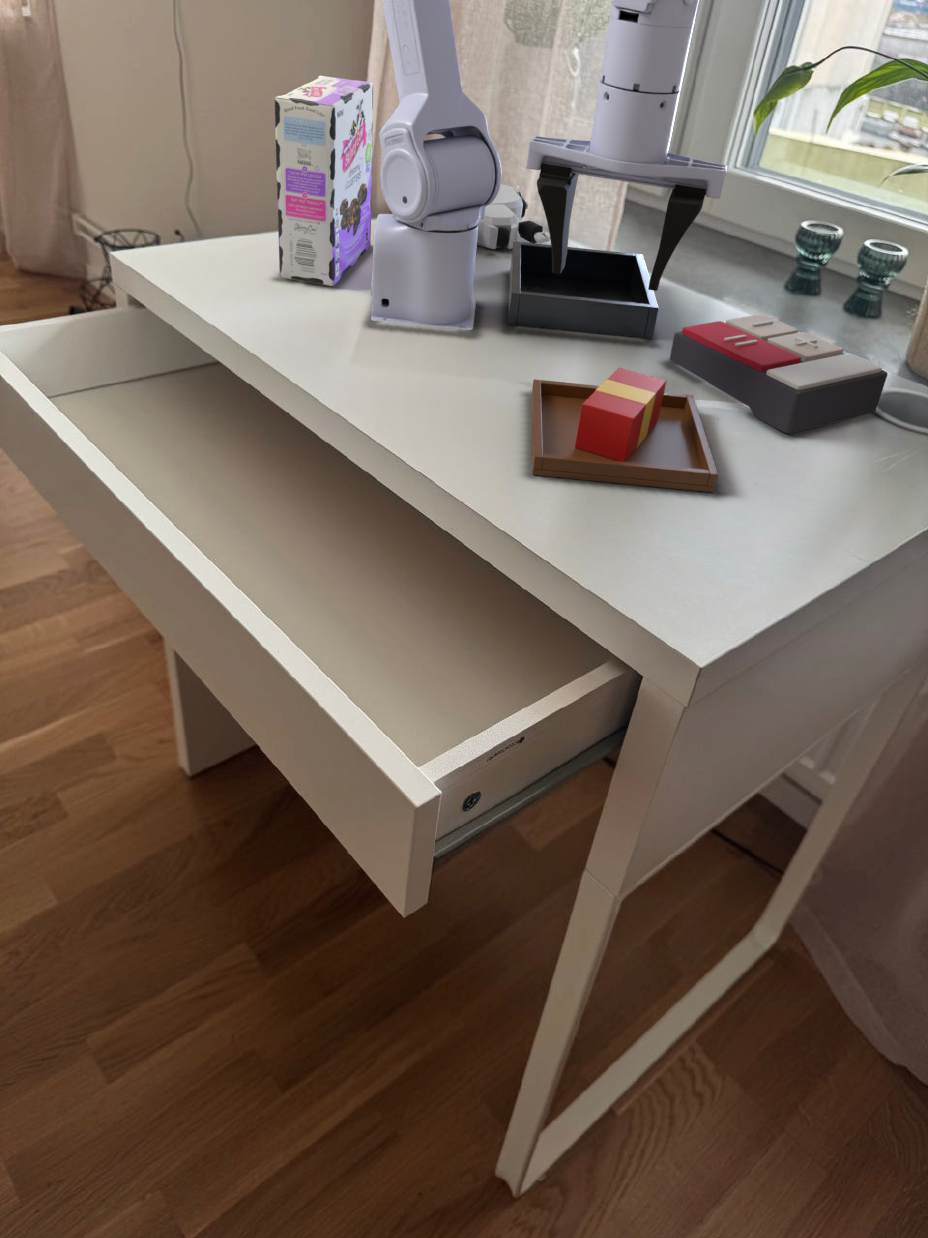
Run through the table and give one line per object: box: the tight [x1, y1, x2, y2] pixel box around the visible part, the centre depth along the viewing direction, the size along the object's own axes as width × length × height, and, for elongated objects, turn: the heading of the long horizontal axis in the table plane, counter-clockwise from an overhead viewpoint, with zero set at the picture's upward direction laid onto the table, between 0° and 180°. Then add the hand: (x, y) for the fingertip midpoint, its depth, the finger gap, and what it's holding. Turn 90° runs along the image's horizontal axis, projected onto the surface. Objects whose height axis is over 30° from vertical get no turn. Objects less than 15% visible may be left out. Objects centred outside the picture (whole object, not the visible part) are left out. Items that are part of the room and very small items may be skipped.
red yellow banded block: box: [575, 367, 668, 462], centre depth 73 cm, size 4×8×4 cm, turn 153°
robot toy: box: [477, 183, 551, 250], centre depth 111 cm, size 12×4×15 cm
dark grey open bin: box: [507, 241, 660, 341], centre depth 96 cm, size 14×16×4 cm
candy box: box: [274, 75, 374, 287], centre depth 96 cm, size 14×6×16 cm, turn 168°
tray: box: [530, 379, 719, 493], centre depth 74 cm, size 13×13×2 cm
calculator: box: [669, 313, 888, 434], centre depth 84 cm, size 11×4×15 cm
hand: (605, 277), depth 76 cm, fingers open, 7 cm apart
